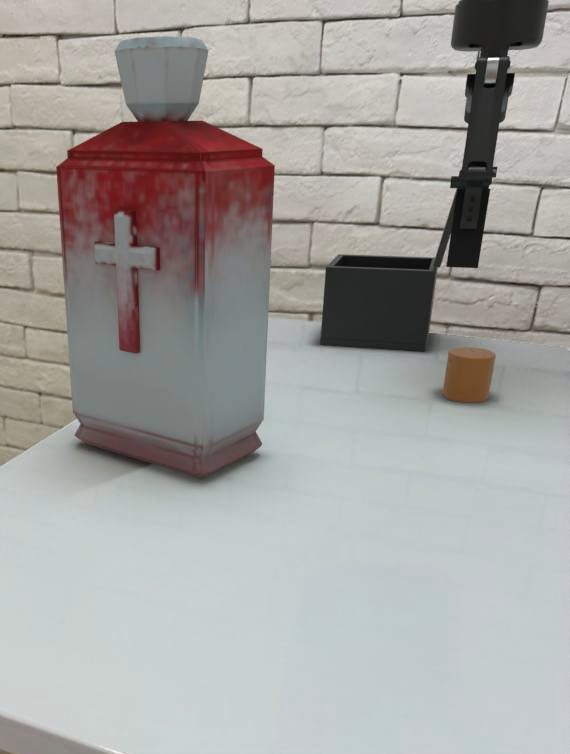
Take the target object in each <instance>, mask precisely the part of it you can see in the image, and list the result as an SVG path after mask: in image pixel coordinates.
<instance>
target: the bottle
mask: <svg viewBox="0 0 570 754" xmlns="http://www.w3.org/2000/svg"><path fill="white" fill-rule="evenodd" d="M209 52H210V50H209V48H208V47H207V46H206V44H205V42H204V41H203V40H202V39H199V38H196V37H191V36H169V35H159V36H157V35H156V36H140V37H132V38H129V39H128V38H127V39H122V40H120V42H119V43H118V45H117V46H116V48H115V49H114V55H115V56H114V57H115V60H116V65H117V69H118V75H119V79H120V85H121V88H122V94H123V97H124V103H125V105H126V107H127V108H128V110H129V111H130V113H131V115H133V117H134V118H135V119H136V121H121V122H119V123H116V124H115V125H113V126H112V127H110V128H107V129H106V130H104V131H102V132H100V133H98V134H96V135H94V136H92V137H90V138H89V139H86V140H84V141H83V142H80V143H78V144H77V145H75V146H73V147H72V148H70V149H68V150H67V151H66V154H67V156H66V157H67V158H65V159H64V160H63V161H61V162H60V163H59V164H58V165H56V166H55V168H56V169H55V170H56V183H57V199H58V215H59V227H60V228H59V229H60V243H61V257H62V258H61V259H62V273H63V286H64V287H63V289H64V303H65V316H66V333H67V347H68V349H67V350H68V363H69V377H70V378H69V379H70V391H71V392H70V393H71V408H72V413H73V414H74V415H73V416H75V418H76V420H77V421H78V422H79V426H78V428H76V429H77V430H76V431H75V433H74V437H76V439H78V440H80V441H82V442H83V443H85V444H86V445H88V446H92V447H95V448H98V449H102V450H105V451H108V452H111V453H114V454H118V455H122V456H125V457H128V458H131V459H135V460H138V461H140V462H141V461H142V462H145V463H148V464H151V465H155V466H158V467H161V468H165V469H168V470H172V471H174V472H176V473H177V472H178V473H181V474H185V475H187V476H191V477H194V478H197V479H200V480H203V479H205V478H207V477H209V476H211V475H213V474H215V473H217V472H218V471H221V470H222V469H225V468H227V467H230V465H231V466H232V464H235V463H236V462H239V461H241V460H242V459H244V458H247V457H249V456H250V455H251V454H253V453H255V452H256V451H257V450H259V449H260V448H261V447H262V446H263V442H262V440H261V438H260V437H259V435H258V433H257V431H258V429H259V427H260V426H261V424H262V423H263V422H264V420H265V419H264V418H265V402H266V401H265V400H266V399H265V398H266V376H267V375H266V374H267V373H266V371H267V356H268V355H267V353H268V330H269V311H270V310H269V309H270V307H269V306H270V287H271V285H270V284H271V263H272V262H271V259H272V239H273V216H274V196H275V195H274V193H275V172H276V171H275V168H276V165H275V164H273V162H271V161H270V160H268V159H267V158H265V157H264V156H263V152H264V151H263V148H262V147H260V146H258V145H256V144H253V143H251V142H249V141H247V140H245V139H243V138H241V137H238V136H236V135H234V134H232V133H230V132H227V131H225V130H223V129H221V128H219V127H217V126H215V125H213V124H211V123H209V122H207V121H204V120H189V119H190V118H191V116H192V115H193V113H194V112H195V110H196V108H197V107H198V105H199V104H200V99H201V93H202V87H203V84H204V77H205V73H206V66H207V62H208V55H209Z"/></svg>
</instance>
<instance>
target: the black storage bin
mask: <svg viewBox="0 0 570 754" xmlns="http://www.w3.org/2000/svg"><path fill="white" fill-rule="evenodd" d="M434 261H435V257H432V256H431V257H429V256H398V255H373V254H372V255H369V254H345V253H344V254H342V253H341V254H340V253H339V254H337V255H336V256H335V257H334V258H333V259H332V260H331V261H330V262H329V263H328V264H327V265H326V266H325V275H324V287H323V288H324V289H323V300H322V313H321V327H320V338H319V339H320V340H319V345H322V346H337V347H353V348H366V349H382V350H394V351H395V350H399V351H411V352H413V351H414V352H426V349H427V345H428V340H429V335H430V329H431V321H432V314H433V308H434V299H435V292H436V284H437V277H438V271H439V269H438V268H439V267H435V266H433V265H434Z"/></svg>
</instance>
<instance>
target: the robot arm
mask: <svg viewBox="0 0 570 754" xmlns="http://www.w3.org/2000/svg"><path fill="white" fill-rule="evenodd" d="M549 4H550V1H549V0H458V3H457V4H456V5H455V7H454V16H453V22H452V29H451V30H452V31H451V37H450V38H451V39H450V47H451V48H452V49H453V50H454V51H457V52H468V53H469V52H471V53H472V52H480V55H479V56H478V57H477V59H476V62H475V63H474V69H475V73H467V75H466V81H465V89H464V90H465V91H464V96H465V98H466V100H465V106H464V113H463V114H464V115H463V121H464V122H465V123H466V124H467V131H466V138H465V144H464V152H463V158H462V164H461V169H459V171H458V175H451V176H450V184H449V189H457V194H456V201H455V208H454V216H453V223H452V230H451V234H450V238H449V243H448V244H449V245H448V252H447V258H446V266H445V267H446V268H461V269H463V268H464V269H479V265H480V263H479V262H480V257H481V251H482V244H483V238H484V233H485V227H486V226H485V225H486V219H487V213H488V206H489V201H490V195H491V194H490V193H491V188H490V186H491V185H492V184H493V179H494V178H495V179H497V174H498V173H497V172H498V166H494V161H495V154H496V149H497V143H498V136H499V129H500V124H501V123H503V122H504V121H505V119H506V116H507V110H508V103H509V98H510V97H511V96H512V94H513V89H514V83H515V77H516V72H508V70H509V69H510V68H511V62H512V60H511V57H510V55H509V51H524V50H530V49H535V48H537V47H538V46H540V45H541V44H542V41H543V38H544V33H545V27H546V20H547V15H548V9H549Z"/></svg>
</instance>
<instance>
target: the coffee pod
mask: <svg viewBox="0 0 570 754" xmlns="http://www.w3.org/2000/svg"><path fill="white" fill-rule="evenodd" d="M447 352H448V353H447V359H446V365H445V366H446V367H445V372H444V381H443V388H442V394H441V395H442V396H443V397H444V398H445V399H447V400H450V401H454V402H459V403H469V404H470V403H471V404H473V403H474V404H475V403H482V402H485V401H487V400H488V399H489V397H490V391H491V385H492V379H493V374H494V367H495V362H496V356H497V355H496V352H494V351H492V350H489V349H486V348H481V347H480V348H479V347H467V346H466V347H465V346H464V347H462V346H461V347H455V348H451V349H449V350H448V351H447Z"/></svg>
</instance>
